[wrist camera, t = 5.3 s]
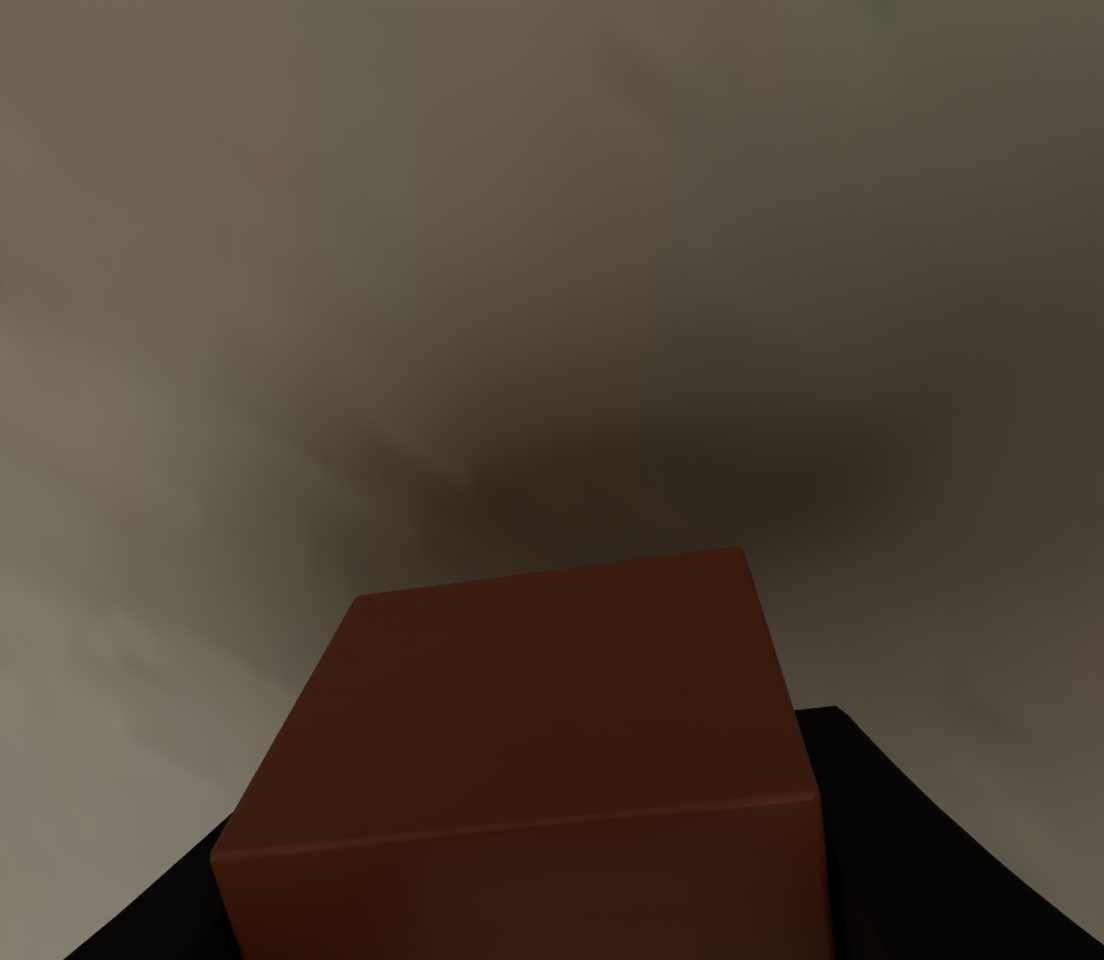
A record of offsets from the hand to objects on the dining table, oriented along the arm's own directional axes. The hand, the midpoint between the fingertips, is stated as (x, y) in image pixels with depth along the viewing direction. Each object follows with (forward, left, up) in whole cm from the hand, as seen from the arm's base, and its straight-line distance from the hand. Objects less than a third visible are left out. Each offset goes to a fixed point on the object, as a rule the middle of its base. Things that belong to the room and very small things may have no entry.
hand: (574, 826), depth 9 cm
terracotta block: (0, 0, -1) cm, 1 cm away
